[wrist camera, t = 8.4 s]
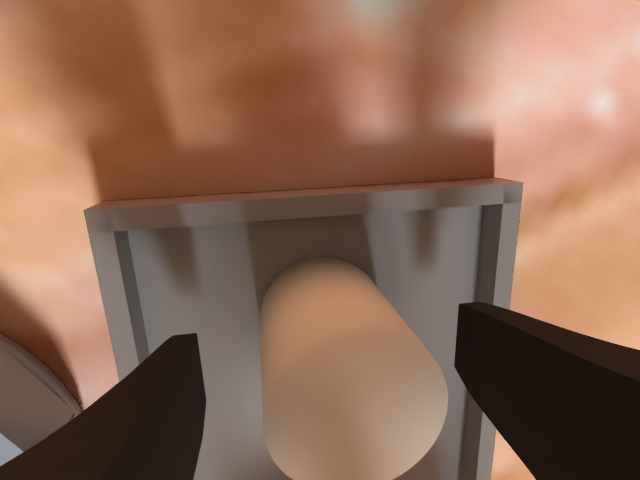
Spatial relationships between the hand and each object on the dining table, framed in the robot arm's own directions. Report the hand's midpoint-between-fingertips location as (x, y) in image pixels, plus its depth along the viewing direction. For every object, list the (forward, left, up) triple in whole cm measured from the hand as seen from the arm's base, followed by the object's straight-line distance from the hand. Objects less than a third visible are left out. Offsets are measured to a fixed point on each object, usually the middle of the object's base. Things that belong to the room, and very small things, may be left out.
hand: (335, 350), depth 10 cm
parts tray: (-4, 0, -3) cm, 4 cm away
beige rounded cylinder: (0, 0, -2) cm, 2 cm away
